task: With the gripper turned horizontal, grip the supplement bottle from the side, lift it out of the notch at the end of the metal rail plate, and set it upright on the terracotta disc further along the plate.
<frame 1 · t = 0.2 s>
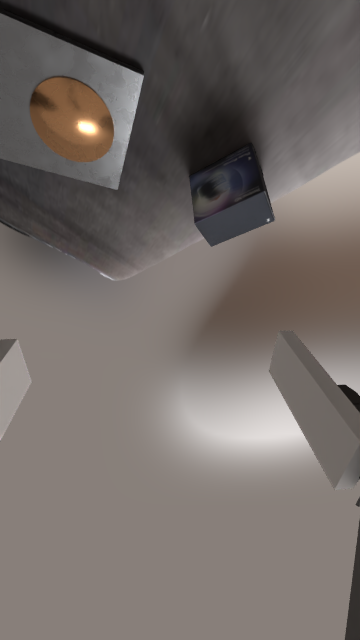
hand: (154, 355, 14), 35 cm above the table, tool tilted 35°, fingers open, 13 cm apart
rail plate: (12, 98, 33), on the table
small box: (225, 173, 45), on the table
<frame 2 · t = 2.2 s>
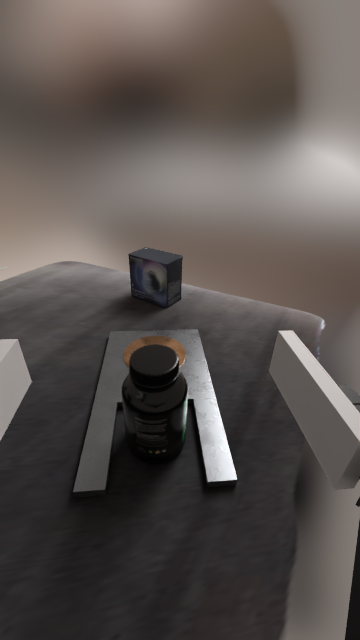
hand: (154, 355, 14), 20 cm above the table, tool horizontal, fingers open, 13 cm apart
supplement bottle: (156, 439, 33), on the table
rail plate: (155, 389, 40), on the table
small box: (155, 298, 65), on the table
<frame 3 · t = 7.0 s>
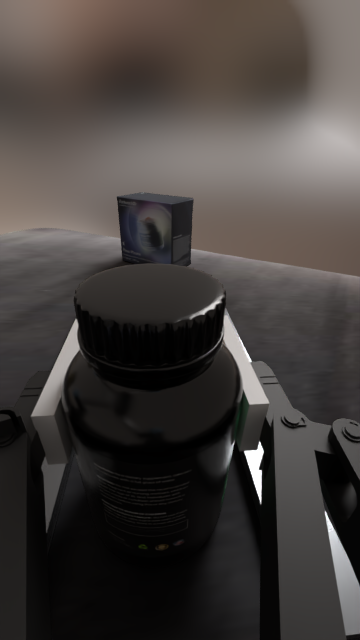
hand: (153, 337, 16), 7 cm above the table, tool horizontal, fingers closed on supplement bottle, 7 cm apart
supplement bottle: (158, 493, 15), on the table, touching gripper
rail plate: (156, 386, 22), on the table
small box: (155, 263, 48), on the table
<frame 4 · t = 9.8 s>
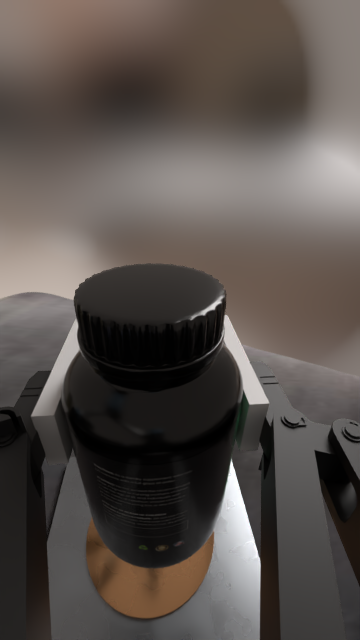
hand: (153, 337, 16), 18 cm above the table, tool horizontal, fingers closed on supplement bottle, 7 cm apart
supplement bottle: (158, 494, 15), point 11 cm above the table, touching gripper
when the fingers open (9 cm above the table, at t = 12.5 s): supplement bottle drops 1 cm, resting on rail plate.
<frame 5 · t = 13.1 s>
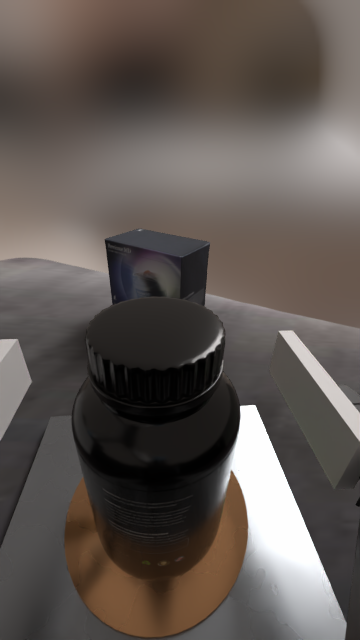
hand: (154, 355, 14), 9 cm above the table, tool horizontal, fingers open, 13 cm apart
supplement bottle: (159, 507, 16), point 1 cm above the table, touching rail plate
small box: (157, 321, 36), on the table
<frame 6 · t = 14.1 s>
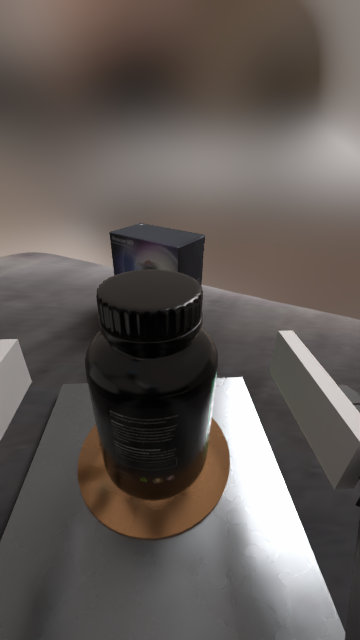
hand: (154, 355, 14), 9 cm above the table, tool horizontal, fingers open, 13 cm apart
supplement bottle: (156, 452, 19), point 1 cm above the table, touching rail plate
rail plate: (156, 598, 13), on the table
small box: (157, 309, 39), on the table
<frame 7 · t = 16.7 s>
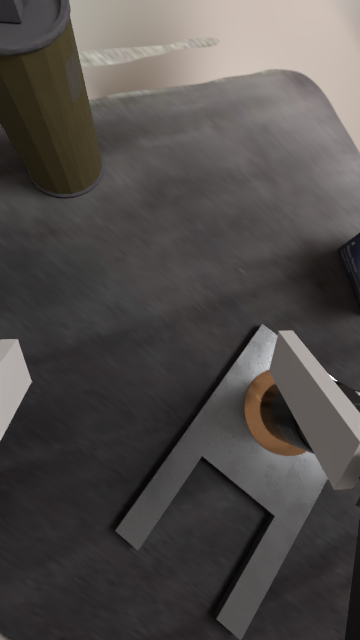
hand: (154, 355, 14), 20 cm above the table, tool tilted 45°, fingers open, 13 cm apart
supplement bottle: (285, 410, 33), point 1 cm above the table, touching rail plate
canister: (67, 166, 39), on the table
rail plate: (249, 459, 32), on the table
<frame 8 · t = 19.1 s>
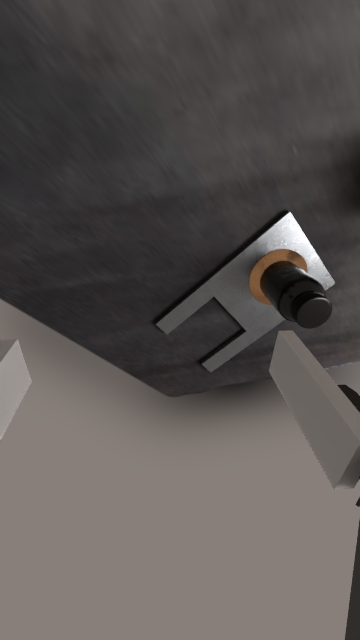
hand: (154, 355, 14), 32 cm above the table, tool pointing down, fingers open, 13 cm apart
supplement bottle: (278, 278, 47), point 1 cm above the table, touching rail plate
rail plate: (242, 301, 50), on the table
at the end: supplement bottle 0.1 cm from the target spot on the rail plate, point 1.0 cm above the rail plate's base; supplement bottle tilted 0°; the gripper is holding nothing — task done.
